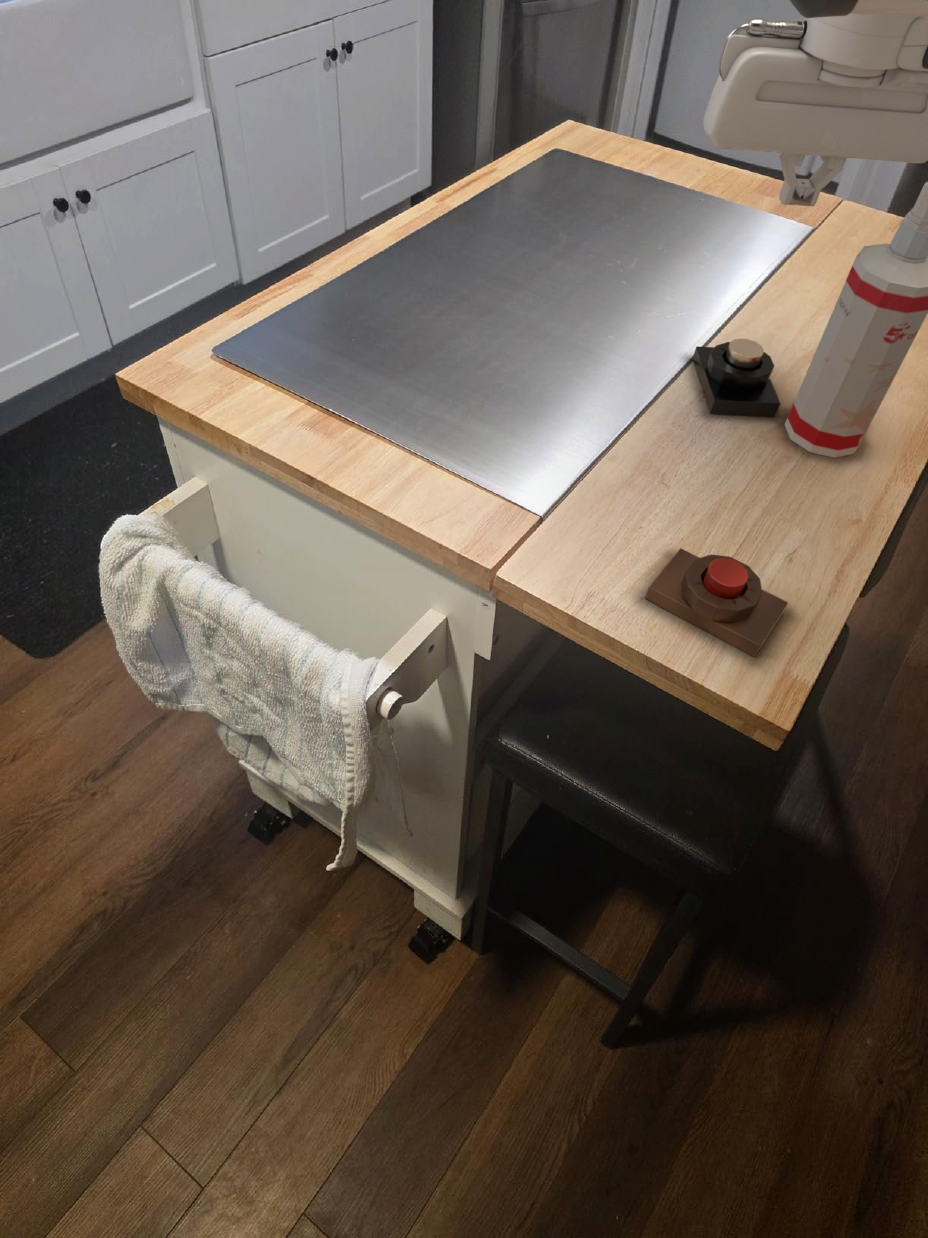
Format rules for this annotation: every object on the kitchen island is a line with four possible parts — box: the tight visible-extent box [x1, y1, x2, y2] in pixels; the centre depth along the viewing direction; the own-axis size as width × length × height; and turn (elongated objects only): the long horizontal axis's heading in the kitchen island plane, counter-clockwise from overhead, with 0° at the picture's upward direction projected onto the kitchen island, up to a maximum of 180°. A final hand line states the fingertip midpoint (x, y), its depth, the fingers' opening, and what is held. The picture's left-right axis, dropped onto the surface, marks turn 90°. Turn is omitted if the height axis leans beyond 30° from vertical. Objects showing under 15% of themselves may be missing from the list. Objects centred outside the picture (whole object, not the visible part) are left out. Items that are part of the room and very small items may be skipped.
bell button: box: [704, 558, 748, 599], centre depth 71 cm, size 3×3×2 cm
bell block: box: [644, 547, 789, 657], centre depth 72 cm, size 10×6×3 cm, turn 54°
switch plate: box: [691, 341, 781, 418], centre depth 93 cm, size 7×10×4 cm
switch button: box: [724, 337, 765, 371], centre depth 91 cm, size 4×4×2 cm
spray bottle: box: [784, 181, 928, 459], centre depth 81 cm, size 8×8×25 cm
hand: (795, 202), depth 79 cm, fingers closed
